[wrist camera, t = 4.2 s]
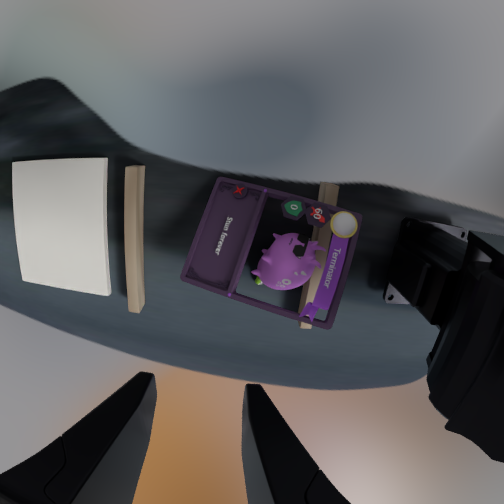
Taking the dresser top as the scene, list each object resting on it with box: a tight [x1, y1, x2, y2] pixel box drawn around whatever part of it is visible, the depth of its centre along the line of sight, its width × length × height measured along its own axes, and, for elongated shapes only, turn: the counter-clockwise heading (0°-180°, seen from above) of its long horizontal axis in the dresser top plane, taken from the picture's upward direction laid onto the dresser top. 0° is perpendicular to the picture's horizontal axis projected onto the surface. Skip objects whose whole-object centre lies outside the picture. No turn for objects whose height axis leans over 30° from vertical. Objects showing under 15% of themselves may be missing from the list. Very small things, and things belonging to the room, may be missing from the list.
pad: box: [12, 158, 111, 296], centre depth 19 cm, size 9×10×1 cm
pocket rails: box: [124, 165, 339, 329], centre depth 19 cm, size 13×10×2 cm
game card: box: [180, 177, 362, 330], centre depth 18 cm, size 7×5×9 cm
